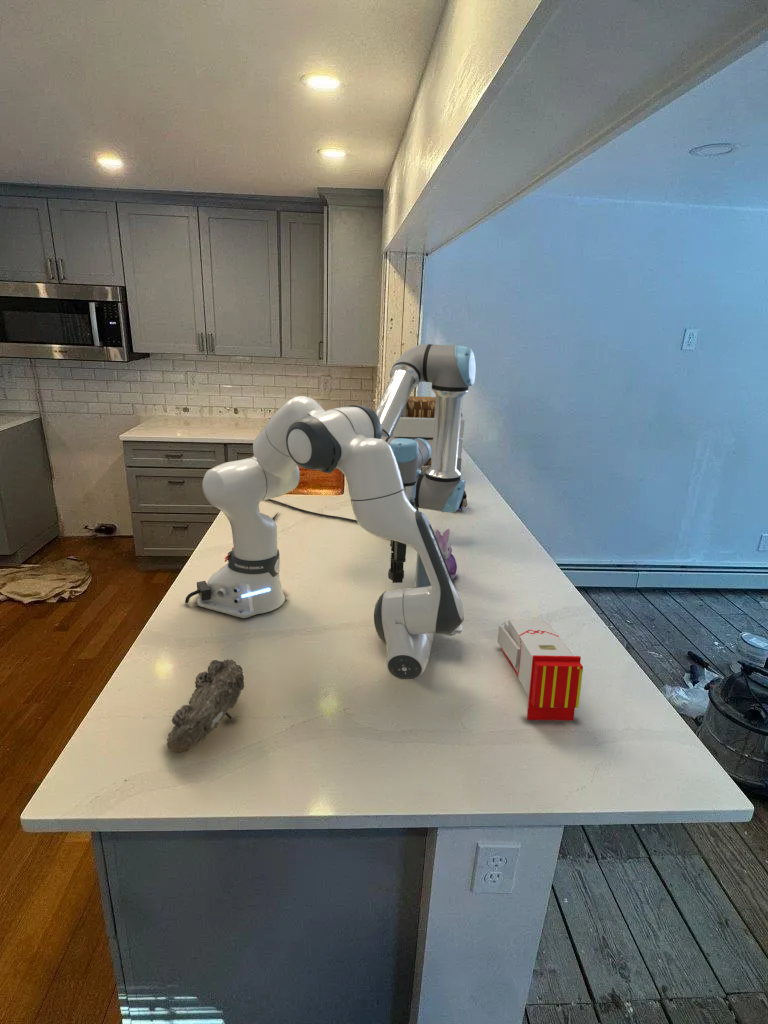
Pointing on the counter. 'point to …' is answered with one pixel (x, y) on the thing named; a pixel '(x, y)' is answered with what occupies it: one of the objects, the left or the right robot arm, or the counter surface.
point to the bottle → (421, 574)
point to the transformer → (422, 423)
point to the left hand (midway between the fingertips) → (423, 600)
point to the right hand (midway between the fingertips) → (396, 577)
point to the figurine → (447, 551)
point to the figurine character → (463, 501)
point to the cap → (390, 573)
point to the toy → (542, 668)
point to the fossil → (206, 705)
